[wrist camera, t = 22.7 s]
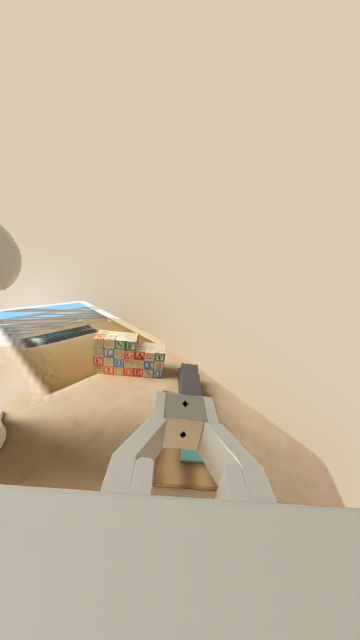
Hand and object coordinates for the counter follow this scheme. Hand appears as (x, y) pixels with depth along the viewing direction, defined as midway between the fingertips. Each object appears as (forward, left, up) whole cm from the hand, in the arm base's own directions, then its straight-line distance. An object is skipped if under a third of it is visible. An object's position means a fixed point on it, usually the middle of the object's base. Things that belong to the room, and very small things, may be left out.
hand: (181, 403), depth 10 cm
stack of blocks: (-11, +43, -30) cm, 54 cm away
